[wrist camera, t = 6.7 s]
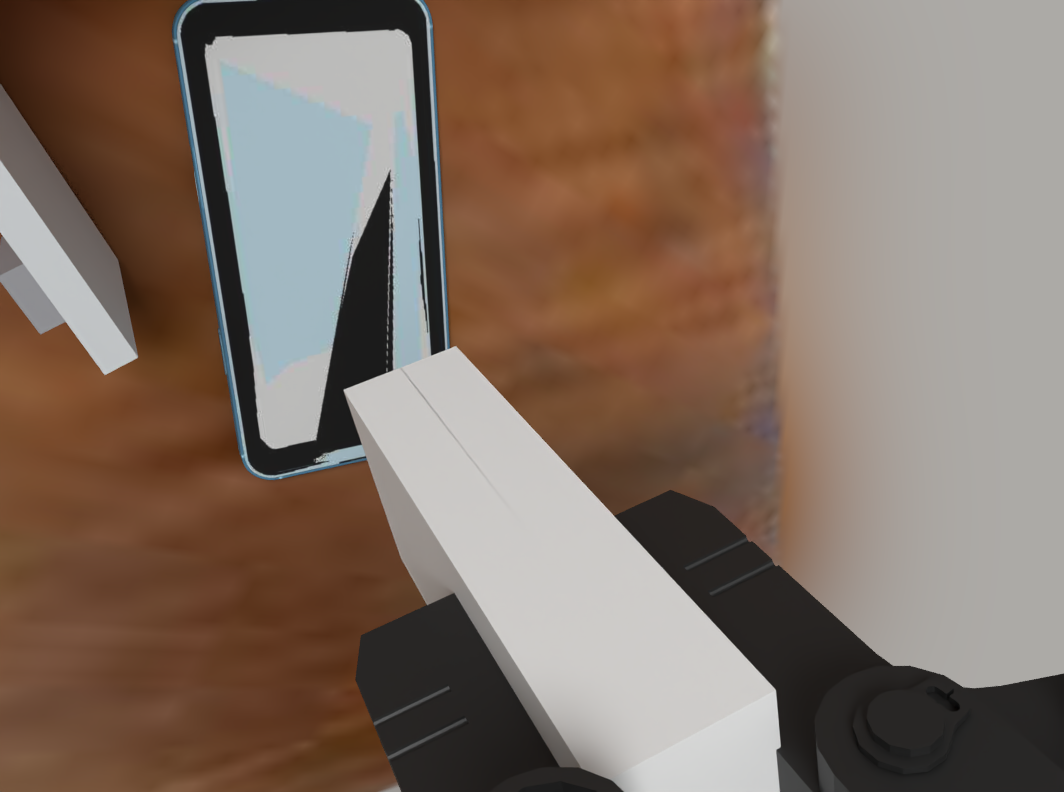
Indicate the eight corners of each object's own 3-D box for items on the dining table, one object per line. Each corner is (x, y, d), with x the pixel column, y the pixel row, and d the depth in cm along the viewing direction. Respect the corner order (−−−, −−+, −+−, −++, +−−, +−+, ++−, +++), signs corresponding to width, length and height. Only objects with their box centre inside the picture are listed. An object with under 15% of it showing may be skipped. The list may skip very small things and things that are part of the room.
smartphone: (432, -16, 29) (456, 440, 35) (422, -18, 30) (447, 429, 36) (164, -4, 26) (244, 486, 33) (161, -7, 27) (239, 473, 34)
